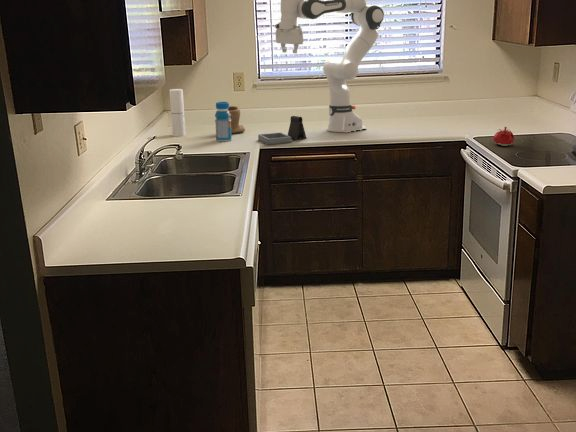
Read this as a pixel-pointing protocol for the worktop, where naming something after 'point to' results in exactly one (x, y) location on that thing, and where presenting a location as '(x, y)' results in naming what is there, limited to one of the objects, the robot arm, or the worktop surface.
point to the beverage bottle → (223, 122)
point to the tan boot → (235, 120)
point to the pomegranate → (504, 137)
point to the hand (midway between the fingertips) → (289, 52)
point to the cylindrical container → (177, 112)
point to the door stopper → (296, 129)
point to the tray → (274, 138)
